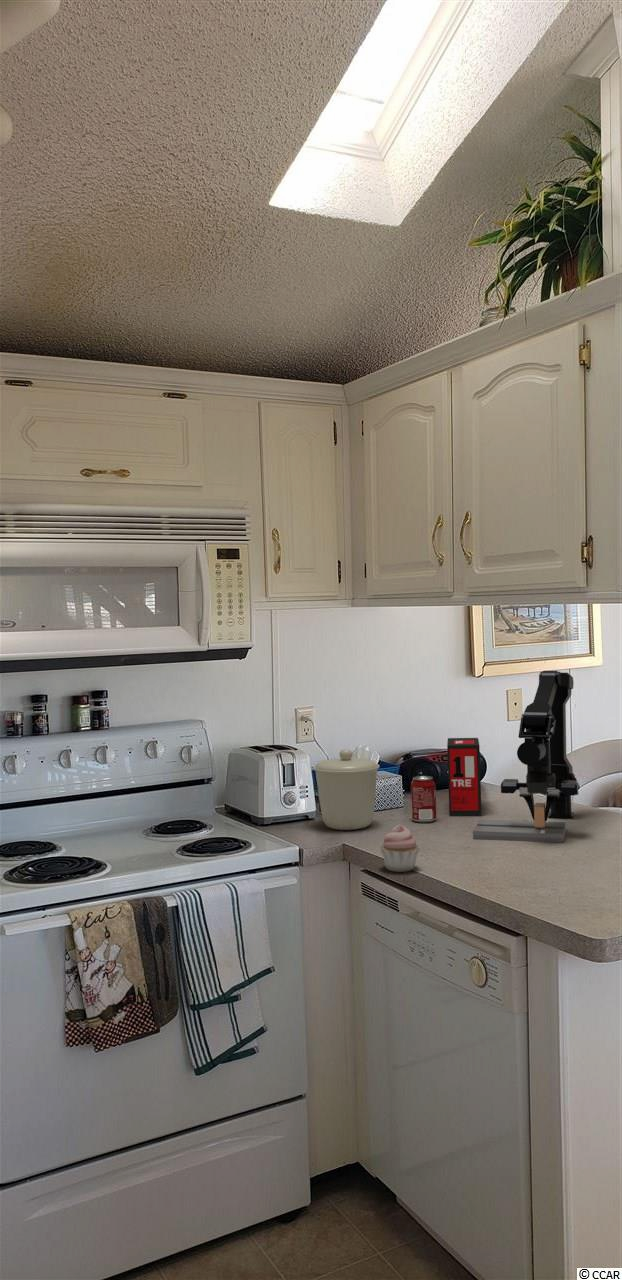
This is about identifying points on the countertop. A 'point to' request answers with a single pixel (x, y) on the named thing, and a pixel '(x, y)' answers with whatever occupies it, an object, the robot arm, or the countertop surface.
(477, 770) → the cleaning product box
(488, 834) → the console
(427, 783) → the soda can
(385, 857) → the cupcake
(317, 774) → the canister
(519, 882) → the countertop surface
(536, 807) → the tan rectangular block
